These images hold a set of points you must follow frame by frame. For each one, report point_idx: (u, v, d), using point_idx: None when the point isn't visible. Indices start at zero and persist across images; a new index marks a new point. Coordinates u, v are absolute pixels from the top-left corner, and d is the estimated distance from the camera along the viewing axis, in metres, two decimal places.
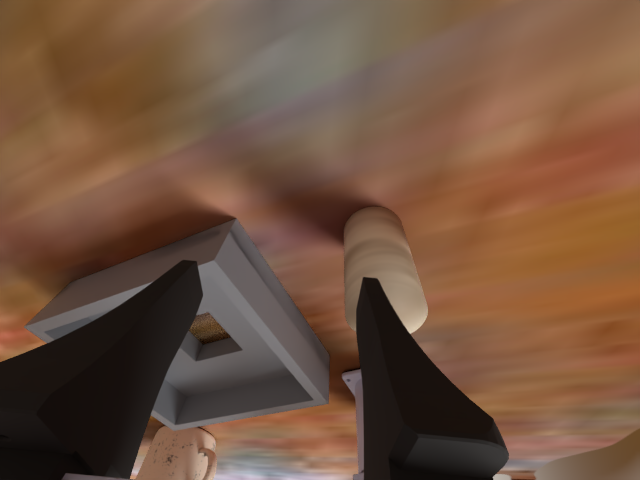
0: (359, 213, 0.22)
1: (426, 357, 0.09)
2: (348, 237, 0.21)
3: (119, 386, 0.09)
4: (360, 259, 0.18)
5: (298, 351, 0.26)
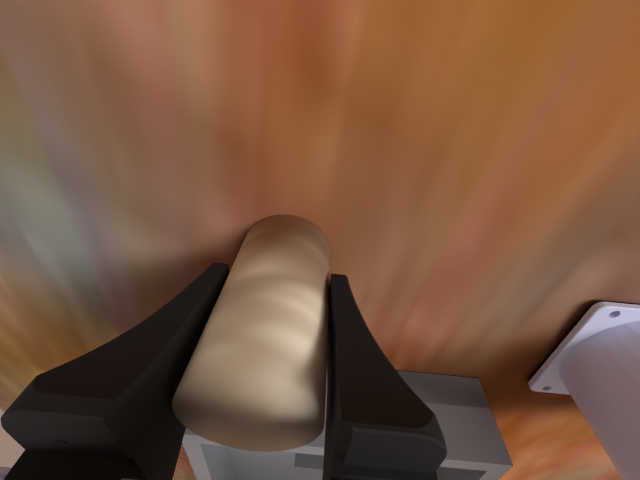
0: None
1: (380, 353, 0.09)
2: None
3: (166, 390, 0.09)
4: None
5: None
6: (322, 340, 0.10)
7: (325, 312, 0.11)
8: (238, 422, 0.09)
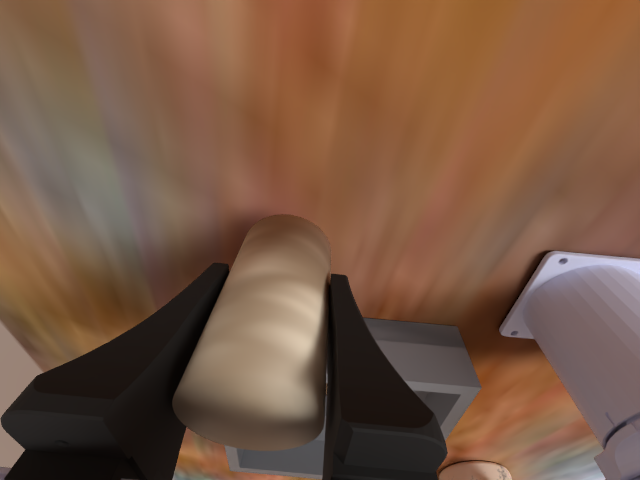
0: None
1: (380, 353, 0.09)
2: None
3: (166, 390, 0.09)
4: None
5: None
6: (322, 339, 0.10)
7: (325, 312, 0.11)
8: (238, 421, 0.09)
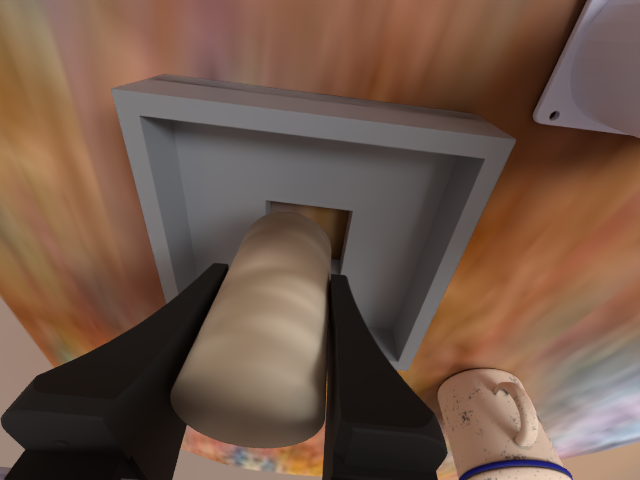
0: None
1: (380, 353, 0.09)
2: None
3: (166, 390, 0.09)
4: None
5: (369, 115, 0.15)
6: (321, 333, 0.10)
7: (325, 306, 0.11)
8: (238, 416, 0.09)
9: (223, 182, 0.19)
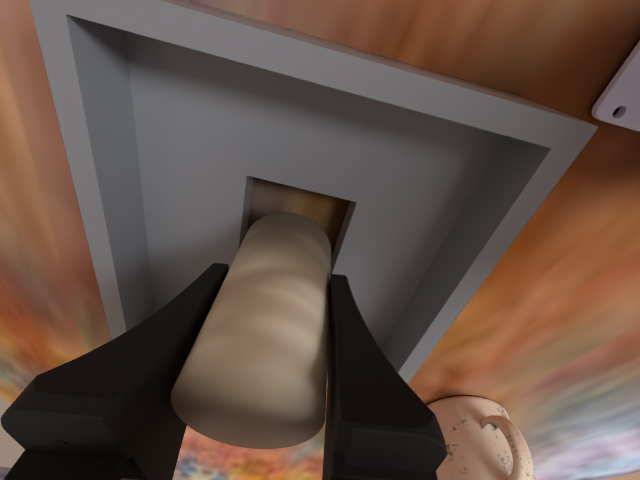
0: None
1: (380, 353, 0.09)
2: None
3: (166, 390, 0.09)
4: None
5: (404, 68, 0.11)
6: (321, 333, 0.10)
7: (325, 306, 0.11)
8: (238, 417, 0.09)
9: (192, 144, 0.14)
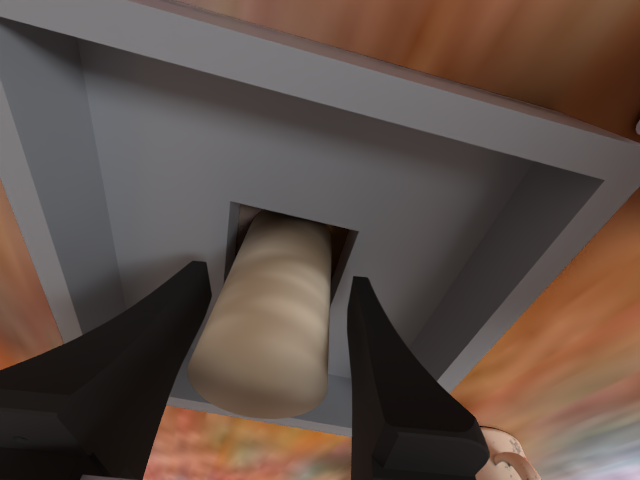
0: None
1: (412, 356, 0.09)
2: None
3: (133, 387, 0.09)
4: None
5: (420, 80, 0.08)
6: (323, 313, 0.11)
7: (326, 290, 0.12)
8: (248, 388, 0.10)
9: (165, 166, 0.12)
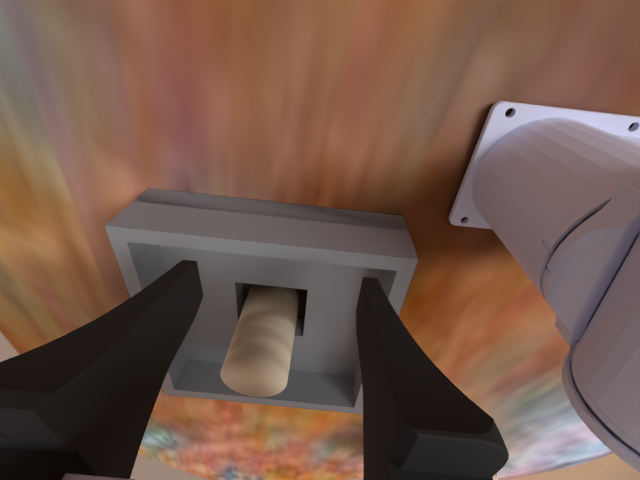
0: None
1: (426, 357, 0.09)
2: None
3: (119, 386, 0.09)
4: None
5: (307, 235, 0.19)
6: (285, 341, 0.21)
7: (289, 326, 0.22)
8: (249, 381, 0.20)
9: (199, 269, 0.23)
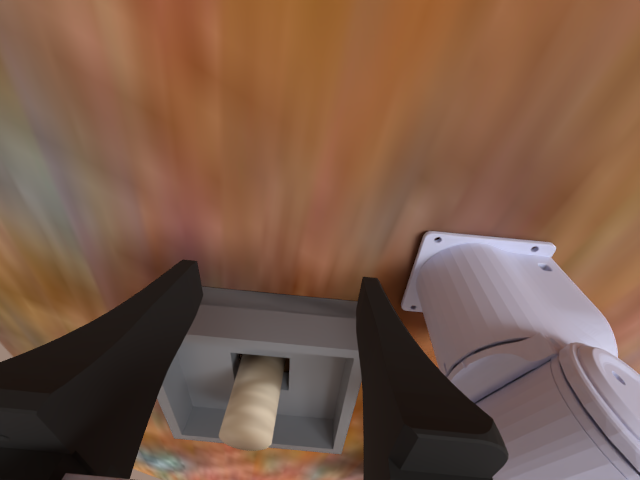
0: None
1: (426, 357, 0.09)
2: None
3: (119, 386, 0.09)
4: None
5: (284, 330, 0.24)
6: (270, 406, 0.27)
7: (274, 391, 0.28)
8: (242, 440, 0.26)
9: (201, 344, 0.28)
